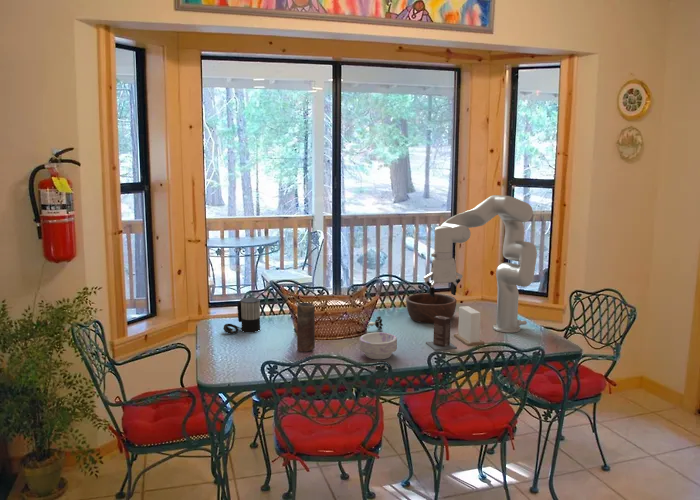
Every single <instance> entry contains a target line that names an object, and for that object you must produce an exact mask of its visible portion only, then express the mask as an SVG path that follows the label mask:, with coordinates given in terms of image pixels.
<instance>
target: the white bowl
mask: <svg viewBox="0 0 700 500" xmlns="http://www.w3.org/2000/svg"><path fill="white" fill-rule="evenodd" d="M397 349H398V338H397V336H396V335H395V334H392V333H387V332H381V331H379V332H368V333H365V334H363V335H361V336H360V337H359V350H360V351H361V352H363V353H364V355H365V356H366V357H367V358H368V359H371V360H386V359H388V358H391V356H392V354H393V353H395V352H396V351H397Z"/></svg>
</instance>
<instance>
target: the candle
mask: <svg viewBox="0 0 700 500" xmlns="http://www.w3.org/2000/svg"><path fill="white" fill-rule="evenodd" d="M296 306H297V307H296V308H297V314H296V315H297V317H296V319H297V326H296V327H297V328H296V329H297V333H296V335H297V338H296V339H297V341H296V342H297V343H296V345H297V346H296V347H297V351H298V352H305V353H306V352H311V351H314V349H315V347H316V344H315V343H316V340H315V339H316V338H315V337H316V335H315V328H316V327H315V326H316V324H315V320H316V319H315V304H313V303H309V302H306V301H305V302H298V303H297V305H296Z"/></svg>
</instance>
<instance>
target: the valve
mask: <svg viewBox="0 0 700 500" xmlns="http://www.w3.org/2000/svg"><path fill="white" fill-rule="evenodd" d="M382 322H383V319H382V317H381V315H380V316H377V317H376V319H375V321H369V323H368V326H367V327H366V328H369V327H373V326H375V327H376V328H377V330H378V331H381V330H383V326H384V325H383V323H382Z"/></svg>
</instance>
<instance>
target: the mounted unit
mask: <svg viewBox="0 0 700 500" xmlns="http://www.w3.org/2000/svg"><path fill="white" fill-rule="evenodd" d="M481 315H482V314H481V312H480V311H478V310H477V309H474V308H473V307H470V306H469V305H467V306H464V305H463V306H459V307H458V331H457V333H456V334H453V338H455V339H456V340H458V341H460V342H461V343H462V344H464V345H465V346H467V347H469V346H470V347H471V346H482V345H481V344H484V345H485V341H483V340H482V339H481V317H482V316H481Z"/></svg>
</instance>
